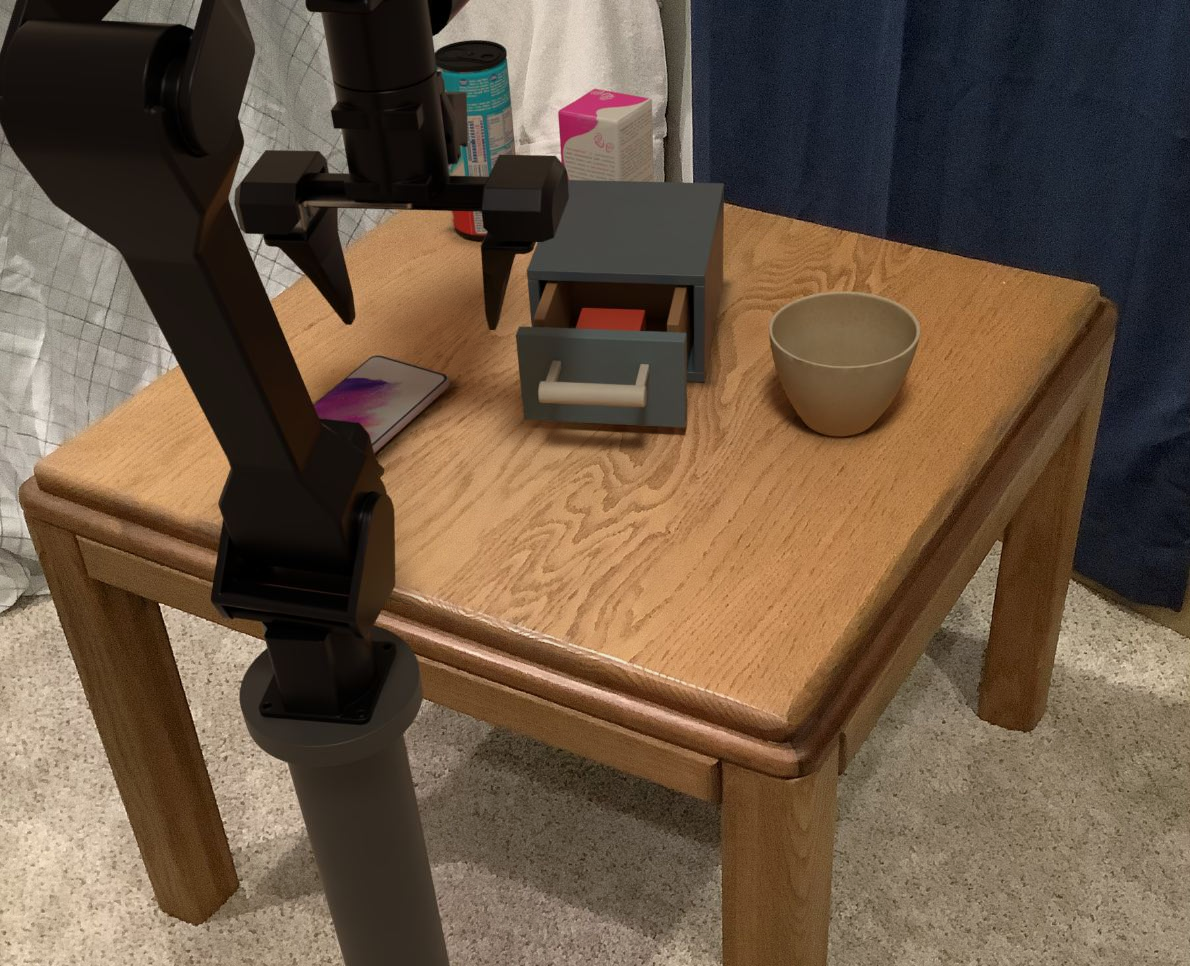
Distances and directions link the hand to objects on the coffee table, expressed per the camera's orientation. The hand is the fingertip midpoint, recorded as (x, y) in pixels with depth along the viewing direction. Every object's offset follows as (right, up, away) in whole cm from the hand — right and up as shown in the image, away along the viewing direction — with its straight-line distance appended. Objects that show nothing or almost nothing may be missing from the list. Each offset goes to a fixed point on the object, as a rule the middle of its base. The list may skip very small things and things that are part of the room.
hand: (421, 324), depth 89 cm
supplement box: (+12, +15, +33) cm, 38 cm away
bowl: (+28, -4, +12) cm, 30 cm away
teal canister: (+1, +16, +36) cm, 39 cm away
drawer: (+12, -2, +14) cm, 19 cm away
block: (+12, -1, +13) cm, 17 cm away
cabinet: (+14, +4, +22) cm, 26 cm away
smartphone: (-6, -4, +14) cm, 16 cm away
